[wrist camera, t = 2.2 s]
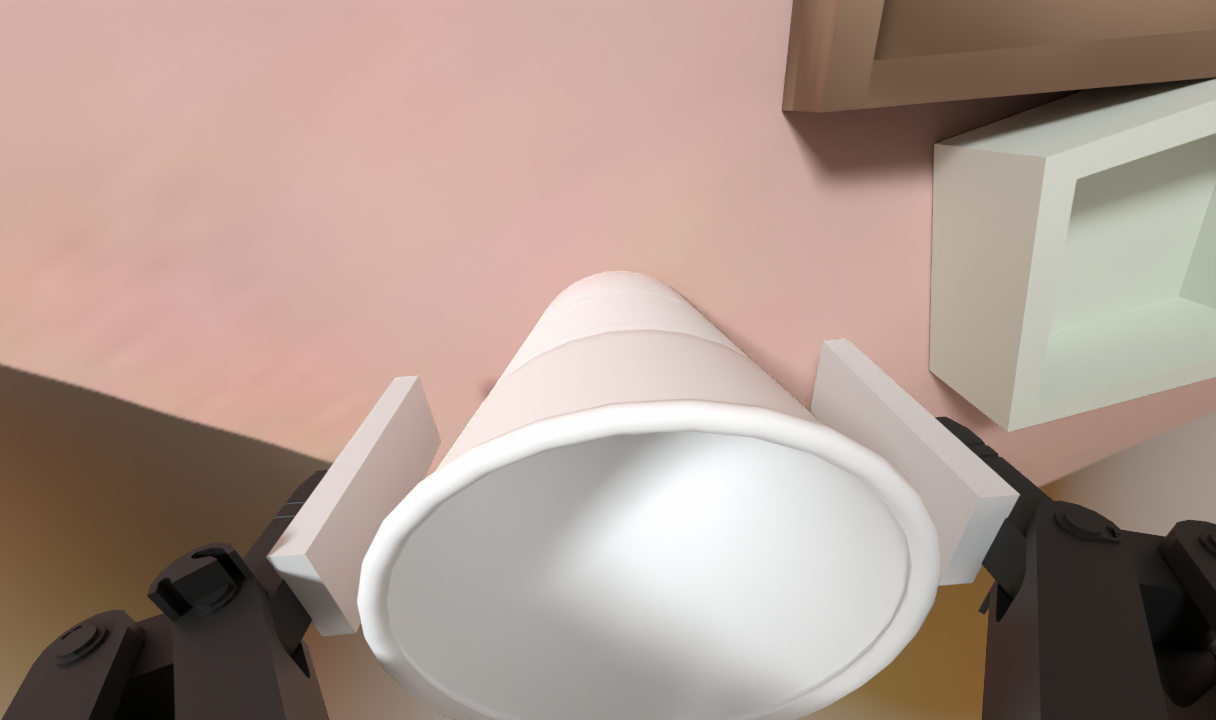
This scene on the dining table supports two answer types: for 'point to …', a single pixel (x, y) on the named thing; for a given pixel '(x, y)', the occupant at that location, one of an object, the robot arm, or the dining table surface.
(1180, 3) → the brown square tray
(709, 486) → the cup
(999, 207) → the small crate
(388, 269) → the dining table surface
